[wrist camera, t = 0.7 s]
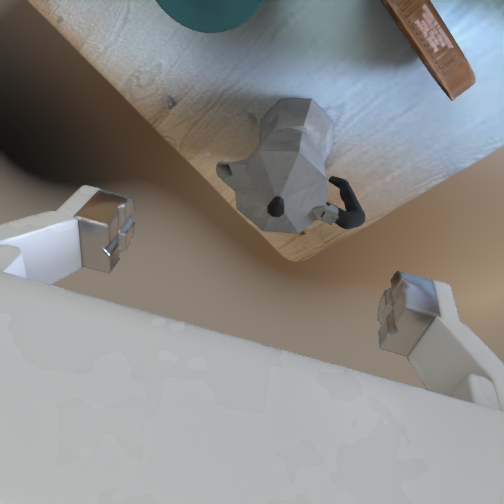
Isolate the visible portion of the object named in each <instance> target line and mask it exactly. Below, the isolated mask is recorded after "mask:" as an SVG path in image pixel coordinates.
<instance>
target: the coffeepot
mask: <svg viewBox="0 0 504 504" xmlns="http://www.w3.org/2000/svg"><path fill="white" fill-rule="evenodd" d="M332 130H333V120H332V119H331V118H330V117H329V116H328V115H327V113H326V112H325V111H324V110H323V109H322V108H321V107H320V106H319V105H318V104H317V103H316V102H315V101H314V100H313V99H302V98H292V99H281V100H280V101H279V102H278V103H277V104H276V105H275V106H274V107H273V108H272V109H271V110H270V111H269V112H268V113H267V114H266V115H265V116H264V117H263V118H262V119H261V132H260V146H259V147H258V148H257V149H256V150H255V151H254V153H253V154H252V155H251V156H250V157H249V158H248V159H245V160H240V161H235V162H224V161H222V162H218V163H217V166H216V172H217V175H218V177H220V178H221V179H222V181H224V182H225V183H226V184H227V185H228V186H230V187H231V188H232V189H233V190H234V191H235V195H236V206H237V209H238V210H239V211H240V212H241V213H243V214H244V215H245V216H246V217H247V218H248V219H250V220H251V221H252V222H253V223H254V224H255V225H257V226H258V227H259V228H260V229H261V230H262V231H268V232H285V233H300V232H301V231H302V230H304V229H305V228H306V227H308V226H309V225H310V224H312V223H313V222H314V221H316V220H317V219H318V220H320V221H323V222H325V223H328V224H330V225H332V224H333V222H334V223H336V224H337V225H339V226H340V227H342V228H344V229H350V228H354V227H358V226H360V225H362V224H363V223H364V221H365V213H364V211H363V210H362V208H361V206H360V204H359V202H358V200H357V198H356V196H355V194H354V192H353V190H352V189H351V187H350V185H349V183H348V182H347V181H346V180H344V179H342V178H338V177H334V176H332V177H330V179H329V182H330V183H332V184H334V185H335V186H337V187H338V188H339V189H340V196H341V199H342V200H343V202H344V203H345V208H346V211H344V210H342V209H341V208H339V207H337V206H335V205H332V204H330V203H328V202H326V196H327V176H326V171H325V167H324V162H325V160H326V158H327V156H328V154H329V152H330V151H331V147H332Z"/></svg>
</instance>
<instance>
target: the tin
mask: <svg viewBox="0 0 504 504" xmlns="http://www.w3.org/2000/svg"><path fill="white" fill-rule="evenodd" d="M381 1H382V3H383V4H384V6H385V7H386V9H387V10H388V12H389V13H390V15H391V16H392V18H393V19H394V21H395V22H396V24H397V25H398V27H399V28H400V30H401V31H402V33H403V34H404V36H405V37H406V39H407V40H408V42H409V43H410V45H411V46H412V48H413V49H414V51H415V52H416V54H417V55H418V56H419V58H420V59H421V61H422V62H423V64H424V65H425V67H426V68H427V69H428V71H429V72H430V74H431V75H432V77H433V78H434V79H435V81H436V82H437V83H438V85H439V86H440V87H441V88H442V90H443V91H444V92H445V93H446V95H447V96H448V97H449V98H450V100H451V101H453V100H454V99H455V98H456V97H457V96H459V95H460V94H461V93H463V92H464V91H465V90H467V89H468V88H470V87H471V86H472V85H473V84H474V83H475V75H474V73H473V70H472V68H471V67H470V65H469V63H468V61H467V59H466V58H465V56H464V54H463V53H462V51H461V49H460V48H459V46H458V44H457V43H456V41H455V40H454V38H453V36H452V35H451V33H450V31H449V30H448V28H447V27H446V25H445V23H444V22H443V20H442V19H441V17H440V15H439V14H438V12H437V11H436V9H435V8H434V6H433V5H432V3H431V1H430V0H381Z"/></svg>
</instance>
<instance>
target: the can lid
mask: <svg viewBox="0 0 504 504" xmlns="http://www.w3.org/2000/svg"><path fill="white" fill-rule="evenodd" d="M263 1H264V0H156V2H157V3H158V4H159V5H160V7H161V8H162V9H163V10H164V11H165V12H166V13H167V14H168V15H169V16H170V17H171V18H173V19H174V20H175V21H177V22H178V23H180V24H181V25H183V26H185V27H187V28H190V29H192V30H196V31H199V32H205V33H218V32H224V31H227V30H230V29H233V28H235V27H237V26H239V25H241V24H242V23H243V22H245V21H246V20H248V19H249V18H250V17H251V16H252V15H253V14H254V13H255V12H256V11H257V9H258V8H259V7H260V6H261V4H262V2H263Z"/></svg>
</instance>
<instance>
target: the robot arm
mask: <svg viewBox="0 0 504 504" xmlns="http://www.w3.org/2000/svg"><path fill="white" fill-rule="evenodd" d="M134 211H135V206H134V200H133V199H132V198H129V197H126V196H123V195H119V194H116V193H112V192H109V191H106V190H101V189H98V188H95V187H91V186H88V185H85V186H82V187H81V188H80V189H79V190H77V191H76V192H75V193H74V194H73V195H72V196H71V197H70V198H69V199H68V200H67V201H66V202H65V203H64V204H63V205H62V206H61V207H60V208H59V209H58V210H57V211H55V212H54V211H47V212H43V213H40V214H37V215H33V216H29V217H26V218H22V219H18V220H15V221H11V222H7V223H4V224H1V225H0V504H504V364H503V363H502V362H501V361H500V360H499V358H498V357H497V356H496V355H494V353H493V352H492V351H491V350H490V349H489V348H488V347H487V346H486V345H485V344H484V343H483V342H482V341H481V340H480V339H479V338H478V337H477V336H476V335H475V334H474V333H473V332H472V331H471V330H470V329H469V327H468V326H467V325H466V324H463V323H460V320H459V316H458V312H457V309H456V305H455V301H454V298H453V294H452V290H451V287H450V285H449V284H448V283H446V282H442V281H438V280H434V279H427V278H423V277H420V276H416V275H412V274H408V273H405V272H401V271H397V272H396V273H395V274H394V275H393V277H392V279H391V288H389V289H387V290H385V292H384V293H383V295H382V297H381V299H380V303H379V306H378V321H379V322H380V323H381V325H382V326H381V328H380V329H379V347H380V349H383V350H386V351H390V352H393V353H396V354H400V355H403V356H407V359H408V361H409V362H410V364H411V365H412V367H413V369H414V370H415V372H416V373H417V375H418V376H419V378H420V380H421V381H422V383H423V385H424V386H425V388H426V390H425V389H421V388H418V387H414V386H411V385H407V384H403V383H400V382H396V381H392V380H389V379H385V378H382V377H378V376H375V375H371V374H368V373H364V372H360V371H356V370H353V369H350V368H346V367H342V366H339V365H335V364H332V363H328V362H325V361H321V360H318V359H314V358H310V357H307V356H303V355H300V354H296V353H292V352H289V351H285V350H282V349H278V348H275V347H271V346H267V345H264V344H260V343H257V342H253V341H249V340H246V339H242V338H239V337H235V336H231V335H228V334H224V333H221V332H217V331H213V330H210V329H206V328H203V327H199V326H196V325H192V324H188V323H185V322H181V321H178V320H174V319H171V318H167V317H163V316H159V315H156V314H153V313H149V312H145V311H142V310H138V309H135V308H131V307H127V306H124V305H120V304H117V303H113V302H110V301H106V300H102V299H99V298H95V297H92V296H88V295H85V294H81V293H78V292H74V291H70V290H67V289H63V288H60V287H56V286H52V285H51V284H53V283H55V282H57V281H59V280H60V279H62V278H64V277H66V276H68V275H70V274H72V273H74V272H76V271H78V270H80V269H82V267H85V268H90V269H93V270H97V271H101V272H105V273H109V274H110V272H111V271H112V270H113V268H114V267H115V265H116V264H117V262H118V261H119V253H121V252H124V251H126V250H127V248H128V247H129V245H130V243H131V240H132V238H133V234H134V224H135V223H134V221H133V219H132V218H131V215H132V213H133V212H134Z"/></svg>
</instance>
